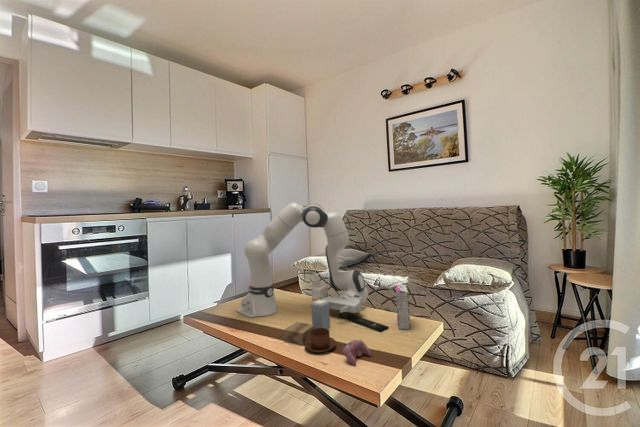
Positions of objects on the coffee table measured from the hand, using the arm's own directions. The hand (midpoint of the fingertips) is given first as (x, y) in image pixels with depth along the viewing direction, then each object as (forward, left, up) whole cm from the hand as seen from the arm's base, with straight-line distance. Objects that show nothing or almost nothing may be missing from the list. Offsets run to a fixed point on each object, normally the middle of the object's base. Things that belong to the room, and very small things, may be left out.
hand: (331, 309), depth 142 cm
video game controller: (+27, -23, -6) cm, 36 cm away
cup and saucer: (+11, -23, -6) cm, 26 cm away
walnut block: (-1, -21, -6) cm, 22 cm away
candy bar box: (+29, +13, -6) cm, 33 cm away
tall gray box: (0, -8, -6) cm, 10 cm away
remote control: (+13, +6, -7) cm, 16 cm away
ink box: (-15, +11, -6) cm, 20 cm away
